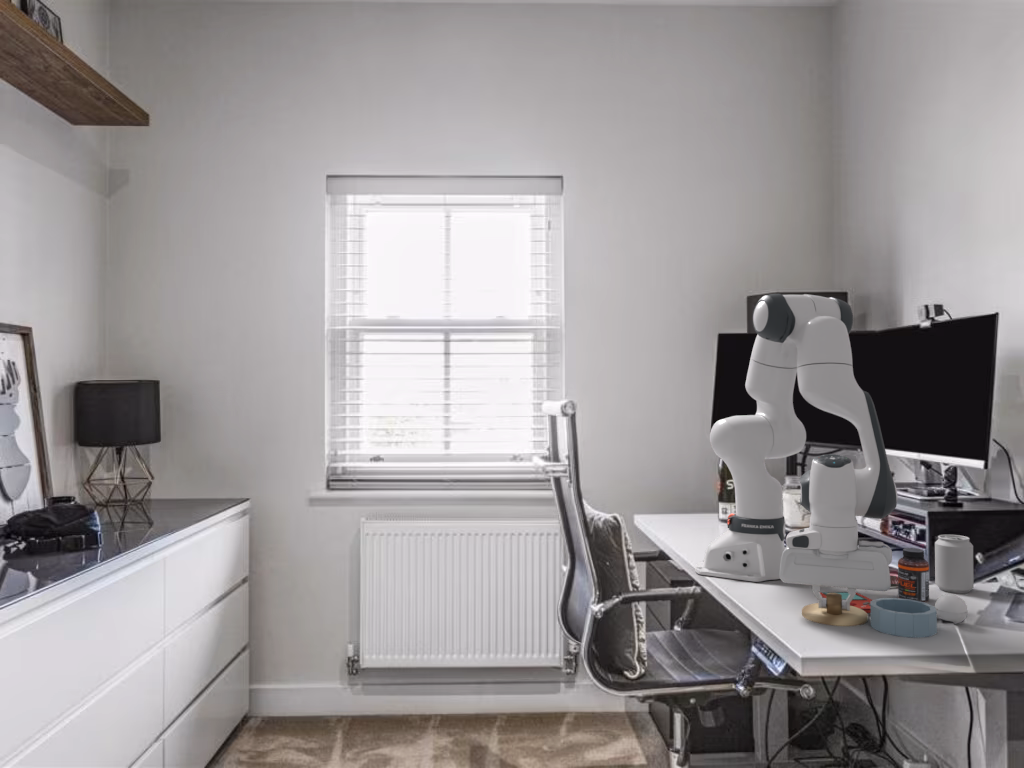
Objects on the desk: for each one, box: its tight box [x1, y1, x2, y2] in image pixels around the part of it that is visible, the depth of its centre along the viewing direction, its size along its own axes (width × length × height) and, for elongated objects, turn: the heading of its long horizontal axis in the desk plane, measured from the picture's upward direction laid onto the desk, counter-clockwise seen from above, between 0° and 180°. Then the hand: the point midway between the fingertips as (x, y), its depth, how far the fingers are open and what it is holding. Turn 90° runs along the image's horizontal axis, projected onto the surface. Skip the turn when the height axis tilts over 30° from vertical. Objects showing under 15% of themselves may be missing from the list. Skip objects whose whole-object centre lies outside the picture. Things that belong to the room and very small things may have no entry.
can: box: [934, 534, 975, 594], centre depth 179 cm, size 8×8×12 cm
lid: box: [801, 593, 869, 627], centre depth 156 cm, size 12×12×4 cm
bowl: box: [870, 597, 938, 639], centre depth 149 cm, size 11×11×5 cm
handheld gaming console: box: [819, 591, 873, 614], centre depth 166 cm, size 9×1×15 cm
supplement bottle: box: [897, 547, 930, 603], centre depth 168 cm, size 6×6×11 cm
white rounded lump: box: [934, 593, 969, 625], centre depth 153 cm, size 8×6×6 cm
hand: (834, 608), depth 156 cm, fingers closed on lid, 3 cm apart
